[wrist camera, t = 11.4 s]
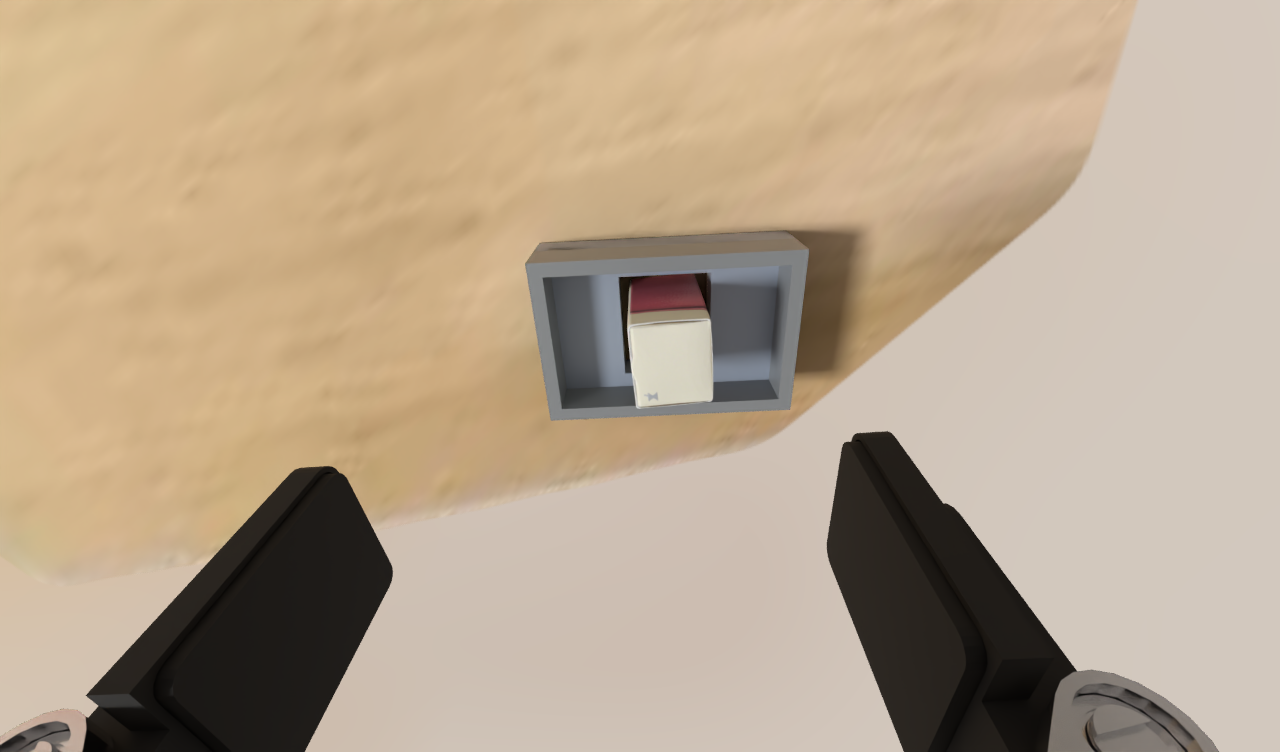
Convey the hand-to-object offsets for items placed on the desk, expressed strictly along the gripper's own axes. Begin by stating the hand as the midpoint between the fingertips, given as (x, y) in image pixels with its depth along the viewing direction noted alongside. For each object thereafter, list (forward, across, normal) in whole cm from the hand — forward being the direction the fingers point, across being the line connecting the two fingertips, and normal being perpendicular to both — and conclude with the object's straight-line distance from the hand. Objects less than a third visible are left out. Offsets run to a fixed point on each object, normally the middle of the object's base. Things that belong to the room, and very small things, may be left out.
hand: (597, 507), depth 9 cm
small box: (+23, -2, +6) cm, 24 cm away
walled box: (+23, -2, +6) cm, 24 cm away
